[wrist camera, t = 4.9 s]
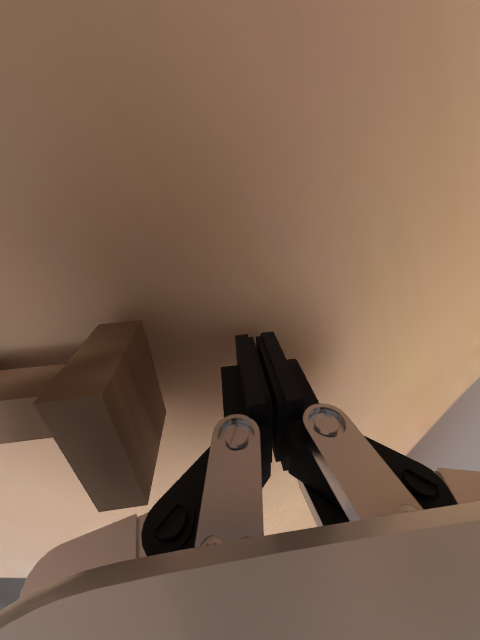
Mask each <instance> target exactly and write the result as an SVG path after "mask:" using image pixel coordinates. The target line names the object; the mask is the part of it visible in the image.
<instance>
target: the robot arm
mask: <svg viewBox="0 0 480 640" xmlns="http://www.w3.org/2000/svg"><path fill="white" fill-rule="evenodd" d="M235 341H236V354H237V365H236V366H227V367H221V377H222V393H223V408H224V418H223V419H222V420H220V421H219V422H218V423H217V425H216V426H215V428H214V431H213V434H212V440H211V446H210V447H209V448H208V449H207V450H206V451H205V452H204V453H203V454H202V455H201V457H200V458H199V459H198V460H197V461H196V462H195V463H194V464H193V465H192V466H191V467H190V468H189V469H188V470H187V471H186V472H185V473H184V474H183V475H182V476H181V478H180V479H179V480H178V481H177V482H176V483H175V484H174V485H173V486H172V487H171V488H170V489H169V490H168V491H167V492H166V493H165V494H164V495H163V496H162V497H161V498H160V500H159V501H158V502H157V503H156V504H155V505H154V506H153V508H152V509H151V510H150V511H149V512H148V513H146V514H144V515H141V516H139V517H138V516H137V514H134V515H132V516H129V517H127V518H124V519H122V520H119V521H117V522H114V523H112V524H110V525H107V526H105V527H102V528H100V529H97V530H95V531H92V532H90V533H87V534H85V535H82V536H80V537H78V538H75V539H73V540H70V541H68V542H65V543H63V544H60V545H59V546H57V547H55V548H54V549H52V550H50V551H49V552H48V553H47V554H46V555H45V556H43V557H42V558H41V559H40V560H39V561H38V562H37V564H36V565H35V567H34V568H33V569H32V571H31V572H30V573H29V575H28V577H27V579H26V581H25V584H24V586H23V588H22V591H21V594H20V597H19V600H17V601H15V602H14V603H12V604H11V605H9V606H7V607H6V608H4V609H3V610H1V611H0V640H480V472H478V471H467V470H455V469H445V468H437V470H436V471H432V470H431V469H429V468H427V467H426V466H424V465H422V464H421V463H418V462H416V461H414V460H412V459H410V458H408V457H406V456H404V455H402V454H400V453H398V452H396V451H394V450H392V449H390V448H388V447H386V446H384V445H382V444H380V443H378V442H376V441H374V440H372V439H370V438H368V437H366V436H363V435H362V433H361V432H360V431H359V430H358V428H357V427H356V426H355V425H354V424H353V422H352V421H351V420H350V419H349V417H348V416H347V415H346V414H345V413H344V412H343V411H342V410H340V409H338V408H337V407H335V406H332V405H329V404H322V403H321V404H319V402H318V400H317V398H316V396H315V394H314V392H313V390H312V388H311V386H310V384H309V383H308V381H307V379H306V377H305V375H304V373H303V371H302V369H301V367H300V365H299V363H298V362H297V360H296V359H289V360H286V358H285V355H284V353H283V351H282V349H281V347H280V345H279V342H278V340H277V338H276V336H275V334H274V332H264V333H261V334H260V336H257V337H256V346H255V342H254V339H253V337H248V334H245V335H235ZM272 449H273V453H274V457H275V460H276V462H279V461H281V464H282V467H283V471H286V470H288V471H289V474H291V475H292V476H294V477H295V478H297V479H298V484H299V487H300V489H301V492H302V494H303V496H304V498H305V500H306V503H307V505H308V507H309V509H310V511H311V514H312V516H313V518H314V520H315V522H316V525H317V527H315V528H309V529H303V530H297V531H291V532H284V533H278V534H272V535H267V536H264V530H263V502H262V488H263V487H264V485H265V484H266V482H267V481H268V479H269V478H270V476H271V463H272Z"/></svg>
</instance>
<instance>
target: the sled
mask: <svg viewBox="0 0 480 640" xmlns="http://www.w3.org/2000/svg"><path fill="white" fill-rule="evenodd" d="M165 415H166V410H165V406H164V402H163V398H162V395H161V391H160V387H159V383H158V380H157V376H156V372H155V368H154V365H153V361H152V357H151V353H150V350H149V346H148V342H147V338H146V335H145V331H144V327H143V323H142V321H131V322H121V323H110V324H99V325H98V326H97V328H96V329H95V330H94V331H93V332H92V334H91V335H90V336H89V337H88V338H87V339H86V341H85V342H84V343H83V344H82V345H81V347H80V348H79V349H78V350H77V351H76V353H75V354H74V355H73V356H72V357H71V358H70V360H69V361H68V362H67V363H66V364H58V365H48V366H38V367H29V368H19V369H9V370H0V444H3V443H11V442H19V441H27V440H35V439H43V438H52V437H53V438H54V439H55V441H56V443H57V444H58V446H59V448H60V449H61V451H62V453H63V454H64V456H65V458H66V459H67V461H68V462H69V464H70V466H71V467H72V469H73V471H74V472H75V474H76V476H77V477H78V479H79V480H80V482H81V484H82V485H83V487H84V489H85V490H86V492H87V494H88V495H89V497H90V498H91V500H92V502H93V503H94V505H95V507H96V508H97V510H98V512H103V511H109V510H116V509H123V508H130V507H137V506H143V505H148V500H149V495H150V490H151V485H152V480H153V475H154V470H155V465H156V460H157V455H158V450H159V445H160V440H161V435H162V430H163V425H164V420H165Z"/></svg>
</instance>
